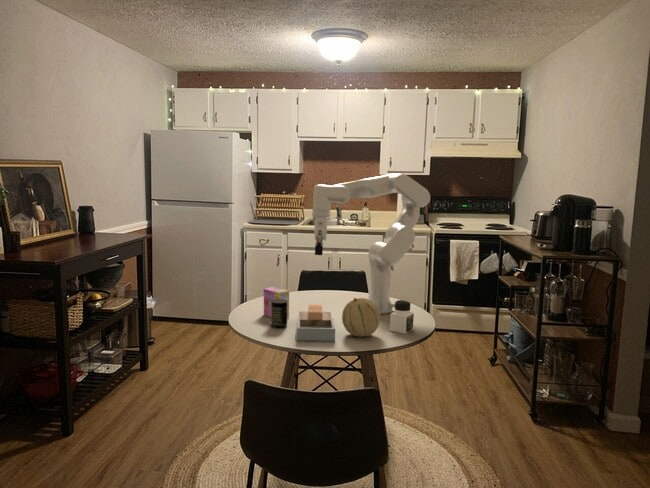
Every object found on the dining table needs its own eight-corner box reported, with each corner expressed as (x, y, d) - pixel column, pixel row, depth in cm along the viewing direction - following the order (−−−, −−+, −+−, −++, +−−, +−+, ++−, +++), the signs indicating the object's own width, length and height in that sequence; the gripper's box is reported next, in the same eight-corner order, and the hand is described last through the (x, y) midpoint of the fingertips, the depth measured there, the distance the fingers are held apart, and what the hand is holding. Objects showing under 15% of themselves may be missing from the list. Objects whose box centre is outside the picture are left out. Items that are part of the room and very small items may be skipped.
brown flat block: (330, 321, 207) (330, 311, 207) (331, 330, 196) (331, 320, 195) (299, 320, 207) (299, 311, 206) (298, 329, 195) (298, 319, 194)
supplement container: (288, 328, 196) (289, 302, 195) (271, 329, 195) (271, 303, 193) (285, 323, 203) (286, 298, 201) (269, 324, 201) (269, 299, 200)
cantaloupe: (387, 338, 187) (389, 299, 185) (356, 344, 179) (358, 304, 177) (364, 327, 200) (365, 291, 198) (333, 333, 192) (335, 295, 190)
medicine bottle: (406, 334, 193) (407, 304, 191) (389, 330, 197) (390, 301, 195) (413, 329, 199) (414, 300, 197) (396, 326, 203) (398, 298, 201)
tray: (332, 330, 195) (333, 317, 195) (334, 342, 181) (335, 328, 181) (297, 329, 195) (297, 317, 194) (296, 341, 181) (296, 328, 180)
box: (263, 315, 214) (263, 288, 212) (273, 312, 218) (273, 286, 216) (279, 320, 207) (279, 292, 205) (289, 317, 211) (289, 290, 209)
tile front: (321, 315, 201) (322, 308, 200) (322, 319, 195) (322, 312, 195) (308, 315, 200) (308, 308, 200) (308, 319, 195) (308, 312, 194)
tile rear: (321, 311, 206) (321, 304, 206) (321, 315, 201) (322, 308, 201) (308, 311, 206) (308, 304, 206) (308, 315, 201) (308, 308, 200)
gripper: (330, 215, 203) (327, 256, 205) (329, 213, 220) (327, 251, 222) (312, 214, 203) (309, 255, 205) (312, 212, 220) (310, 250, 222)
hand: (318, 253), depth 213 cm, fingers open, 9 cm apart
